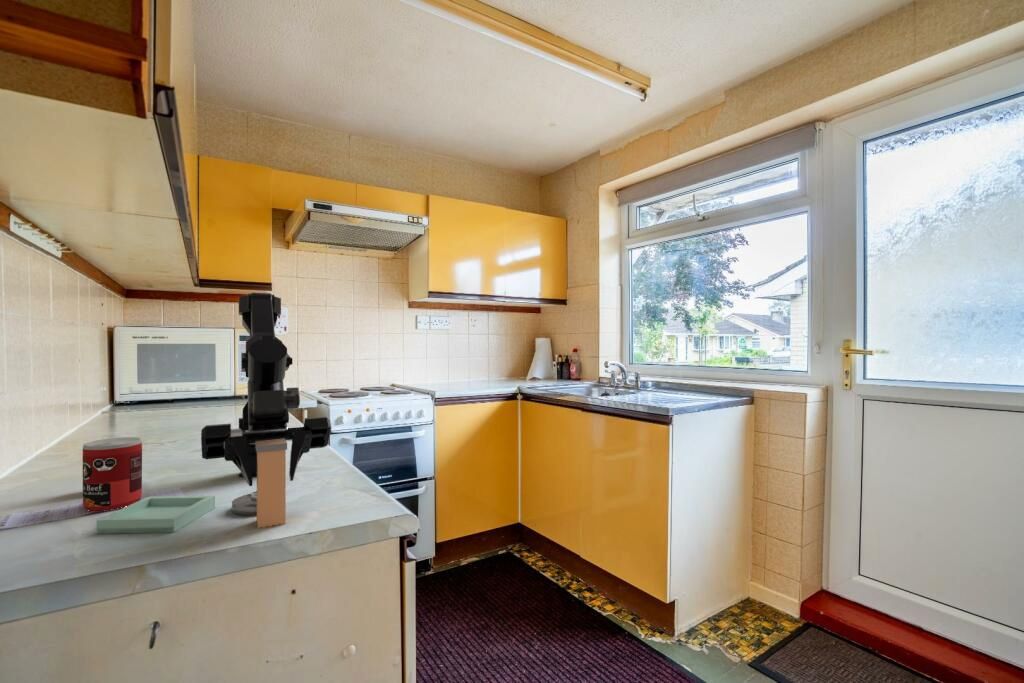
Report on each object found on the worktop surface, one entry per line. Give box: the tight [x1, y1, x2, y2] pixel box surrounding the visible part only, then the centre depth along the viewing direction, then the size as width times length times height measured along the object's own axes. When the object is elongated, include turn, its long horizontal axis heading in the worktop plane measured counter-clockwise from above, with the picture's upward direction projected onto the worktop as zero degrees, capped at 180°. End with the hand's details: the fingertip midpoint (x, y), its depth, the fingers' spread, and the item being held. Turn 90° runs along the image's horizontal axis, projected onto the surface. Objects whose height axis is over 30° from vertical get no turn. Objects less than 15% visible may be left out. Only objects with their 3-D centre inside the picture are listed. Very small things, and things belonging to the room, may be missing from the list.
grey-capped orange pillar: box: [255, 439, 288, 529], centre depth 77 cm, size 4×4×12 cm
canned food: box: [82, 436, 143, 512], centre depth 85 cm, size 8×8×11 cm
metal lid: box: [231, 490, 257, 517], centre depth 83 cm, size 8×8×2 cm
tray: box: [96, 495, 216, 535], centre depth 78 cm, size 11×11×2 cm
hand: (271, 481), depth 76 cm, fingers open, 5 cm apart
